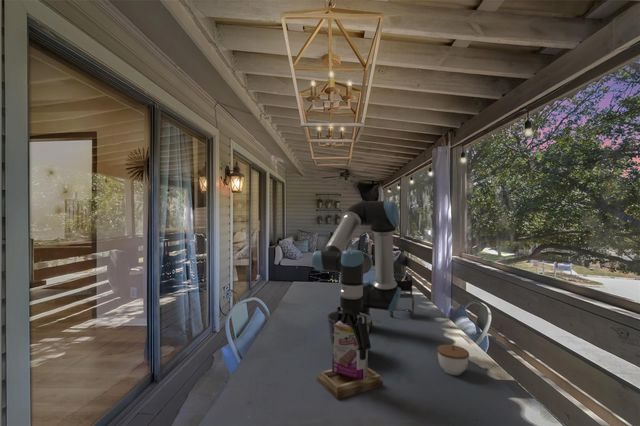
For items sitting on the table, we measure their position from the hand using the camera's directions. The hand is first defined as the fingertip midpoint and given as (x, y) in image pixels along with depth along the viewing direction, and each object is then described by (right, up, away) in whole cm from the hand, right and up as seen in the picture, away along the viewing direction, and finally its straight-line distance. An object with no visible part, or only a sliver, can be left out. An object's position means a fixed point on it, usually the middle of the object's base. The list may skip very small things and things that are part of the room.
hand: (349, 361), depth 109 cm
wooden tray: (0, -7, 0) cm, 7 cm away
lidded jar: (+39, -9, +10) cm, 41 cm away
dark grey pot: (+1, -8, +24) cm, 25 cm away
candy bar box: (0, -4, 0) cm, 4 cm away
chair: (+37, -9, +79) cm, 88 cm away
